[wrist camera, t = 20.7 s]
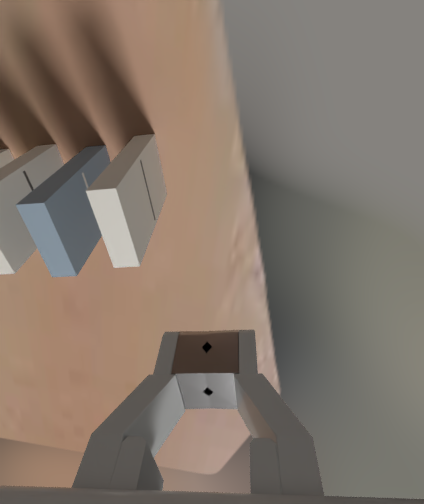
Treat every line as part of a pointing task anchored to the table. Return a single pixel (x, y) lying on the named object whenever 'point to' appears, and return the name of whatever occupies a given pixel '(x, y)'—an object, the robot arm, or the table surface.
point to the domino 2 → (65, 213)
